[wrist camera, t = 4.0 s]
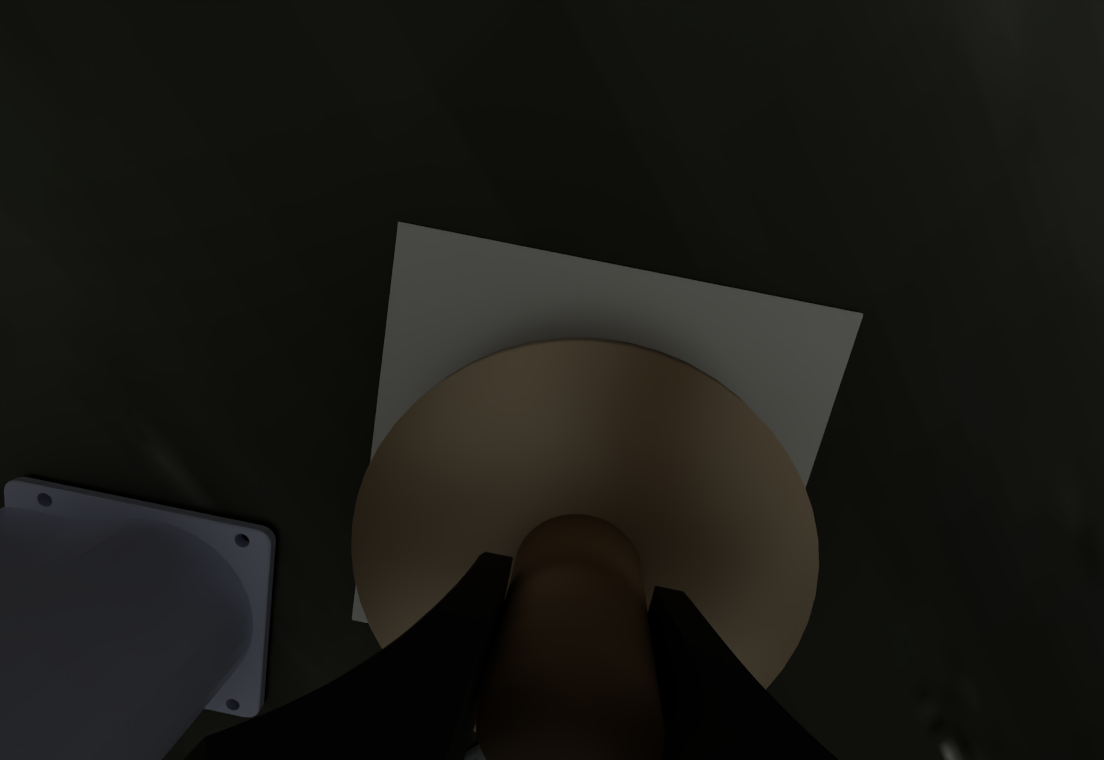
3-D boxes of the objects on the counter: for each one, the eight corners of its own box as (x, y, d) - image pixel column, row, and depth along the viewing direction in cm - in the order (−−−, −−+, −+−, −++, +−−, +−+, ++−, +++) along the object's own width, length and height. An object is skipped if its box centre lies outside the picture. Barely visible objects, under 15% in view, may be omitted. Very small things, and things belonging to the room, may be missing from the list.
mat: (355, 614, 20) (351, 619, 20) (401, 222, 16) (398, 221, 16) (733, 692, 20) (735, 699, 19) (858, 312, 16) (863, 314, 16)
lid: (343, 687, 15) (221, 902, 10) (388, 294, 12) (252, 325, 7) (737, 775, 15) (808, 1039, 10) (871, 390, 12) (1062, 490, 7)
